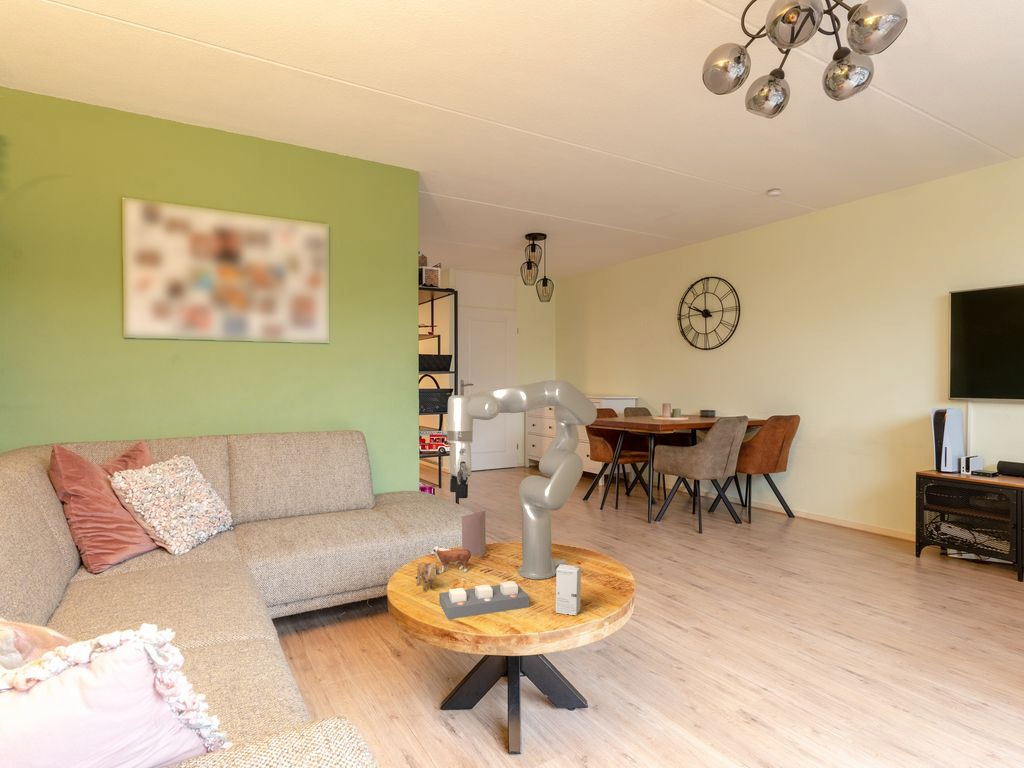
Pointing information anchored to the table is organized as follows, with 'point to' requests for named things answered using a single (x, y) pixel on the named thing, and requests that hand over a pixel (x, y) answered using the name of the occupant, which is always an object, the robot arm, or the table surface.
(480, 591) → the middle button
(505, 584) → the inner button
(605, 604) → the table surface
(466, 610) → the button board
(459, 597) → the outer button
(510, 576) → the table surface
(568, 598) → the skincare box
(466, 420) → the robot arm
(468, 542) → the greeting card
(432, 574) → the lion figurine
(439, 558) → the bull figurine
